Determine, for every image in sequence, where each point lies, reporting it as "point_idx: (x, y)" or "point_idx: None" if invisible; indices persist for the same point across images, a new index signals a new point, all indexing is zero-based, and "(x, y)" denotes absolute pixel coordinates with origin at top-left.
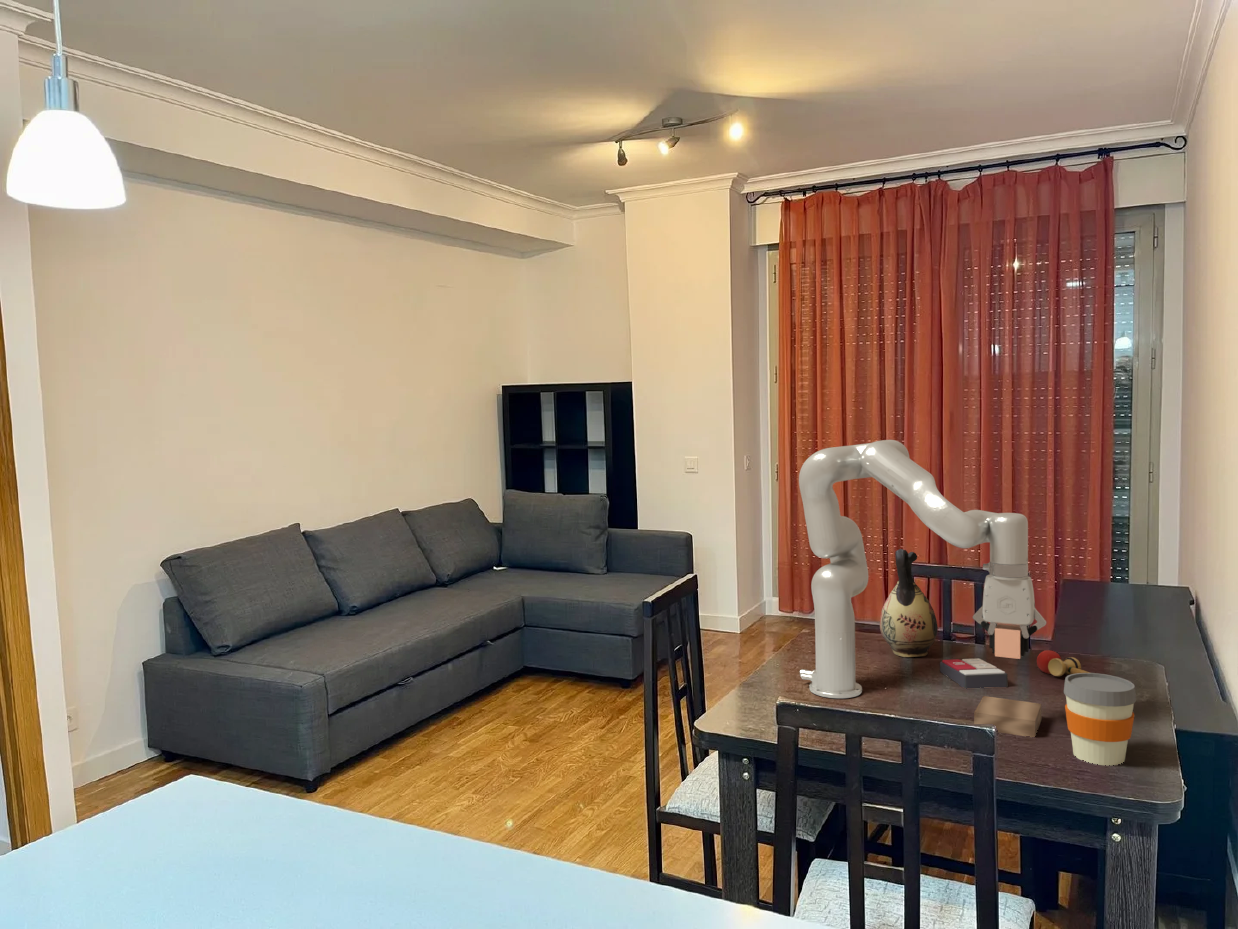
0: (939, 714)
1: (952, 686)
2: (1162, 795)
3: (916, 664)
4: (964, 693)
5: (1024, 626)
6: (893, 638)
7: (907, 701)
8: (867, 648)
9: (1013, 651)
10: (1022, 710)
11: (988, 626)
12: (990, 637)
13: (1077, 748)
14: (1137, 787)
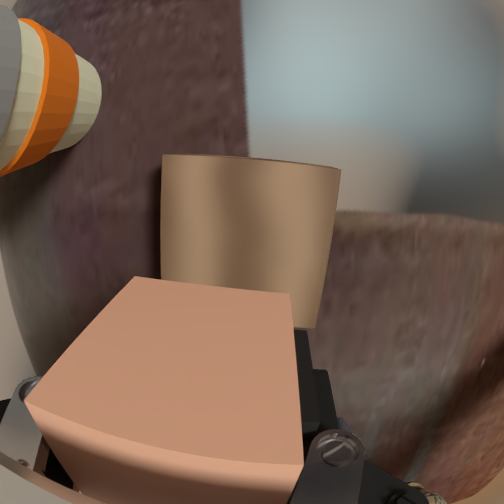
0: (413, 246)
1: (363, 421)
2: (17, 7)
3: (401, 472)
4: (345, 397)
5: (2, 450)
6: (435, 497)
7: (464, 307)
8: (447, 483)
9: (156, 304)
10: (201, 237)
11: (359, 501)
12: (329, 422)
13: (84, 61)
14: (36, 9)
